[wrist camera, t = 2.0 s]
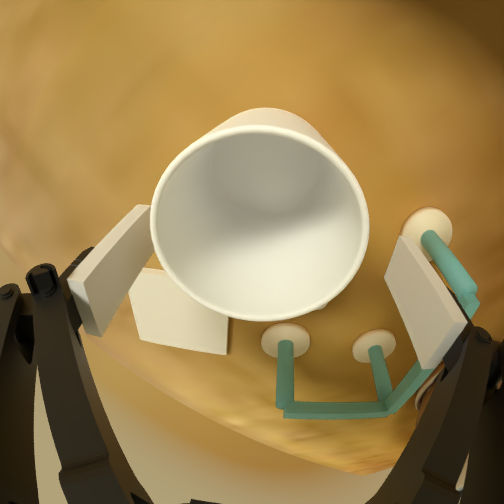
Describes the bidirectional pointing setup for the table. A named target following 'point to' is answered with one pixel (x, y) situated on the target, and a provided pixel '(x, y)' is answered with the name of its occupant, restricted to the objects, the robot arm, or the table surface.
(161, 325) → the coaster
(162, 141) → the table surface
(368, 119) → the table surface
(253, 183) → the mug
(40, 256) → the table surface
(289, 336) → the wire course
